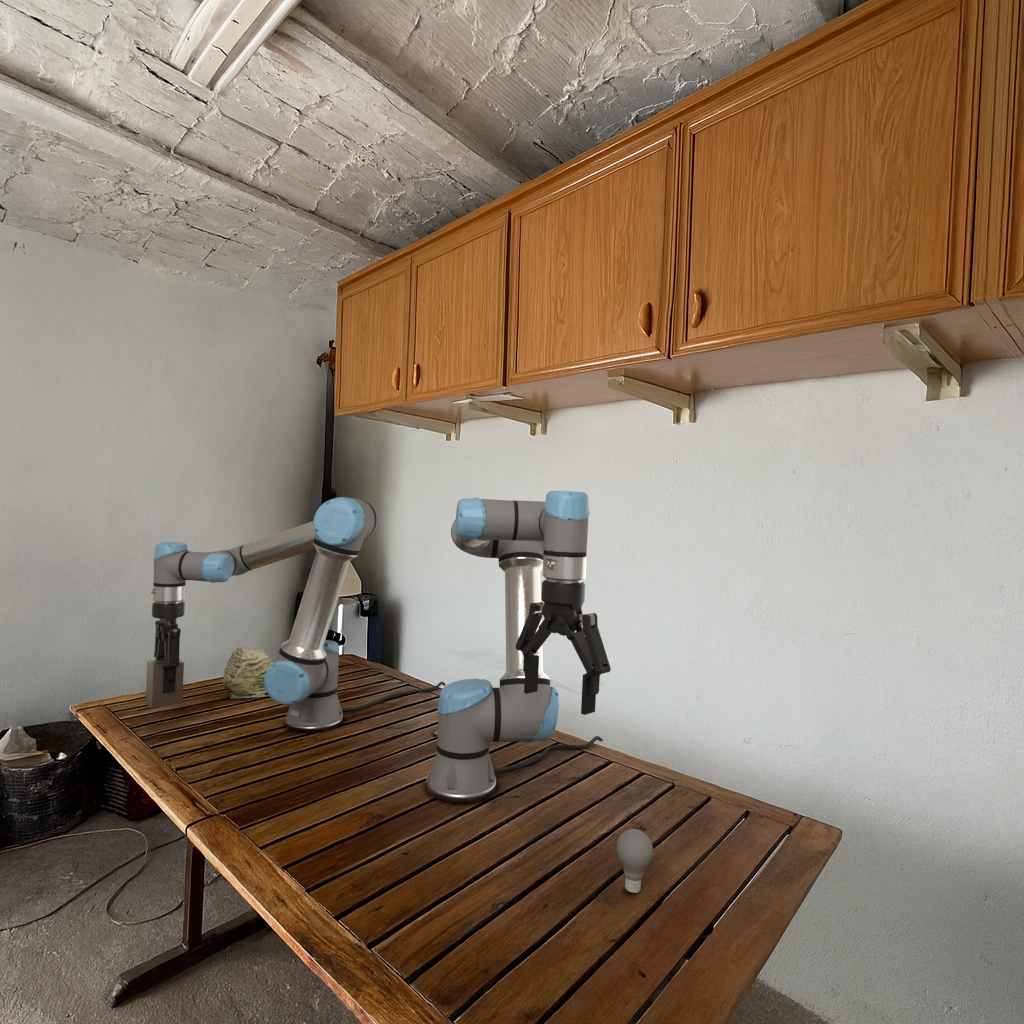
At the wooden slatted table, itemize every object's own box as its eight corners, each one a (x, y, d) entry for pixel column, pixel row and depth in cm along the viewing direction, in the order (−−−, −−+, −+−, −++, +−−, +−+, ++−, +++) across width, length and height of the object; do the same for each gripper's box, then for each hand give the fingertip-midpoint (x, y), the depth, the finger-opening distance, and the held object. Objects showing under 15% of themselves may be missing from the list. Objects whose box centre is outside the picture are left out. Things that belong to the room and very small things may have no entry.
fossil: (218, 695, 195) (220, 647, 195) (278, 685, 208) (279, 640, 207) (228, 703, 189) (230, 653, 188) (289, 692, 201) (290, 645, 201)
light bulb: (610, 879, 108) (613, 822, 108) (644, 879, 109) (647, 822, 109) (619, 902, 102) (622, 840, 102) (655, 901, 103) (658, 840, 103)
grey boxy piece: (145, 702, 166) (147, 660, 166) (175, 697, 171) (177, 657, 171) (151, 708, 162) (153, 666, 161) (182, 703, 167) (184, 662, 166)
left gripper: (143, 597, 170) (139, 682, 171) (163, 608, 156) (159, 701, 157) (173, 595, 175) (170, 678, 176) (195, 606, 162) (191, 696, 162)
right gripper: (499, 572, 116) (494, 687, 117) (606, 591, 98) (600, 727, 98) (529, 571, 121) (524, 681, 122) (635, 588, 103) (629, 717, 103)
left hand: (165, 689), depth 166 cm, fingers closed on grey boxy piece, 6 cm apart
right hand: (558, 702), depth 110 cm, fingers open, 13 cm apart
